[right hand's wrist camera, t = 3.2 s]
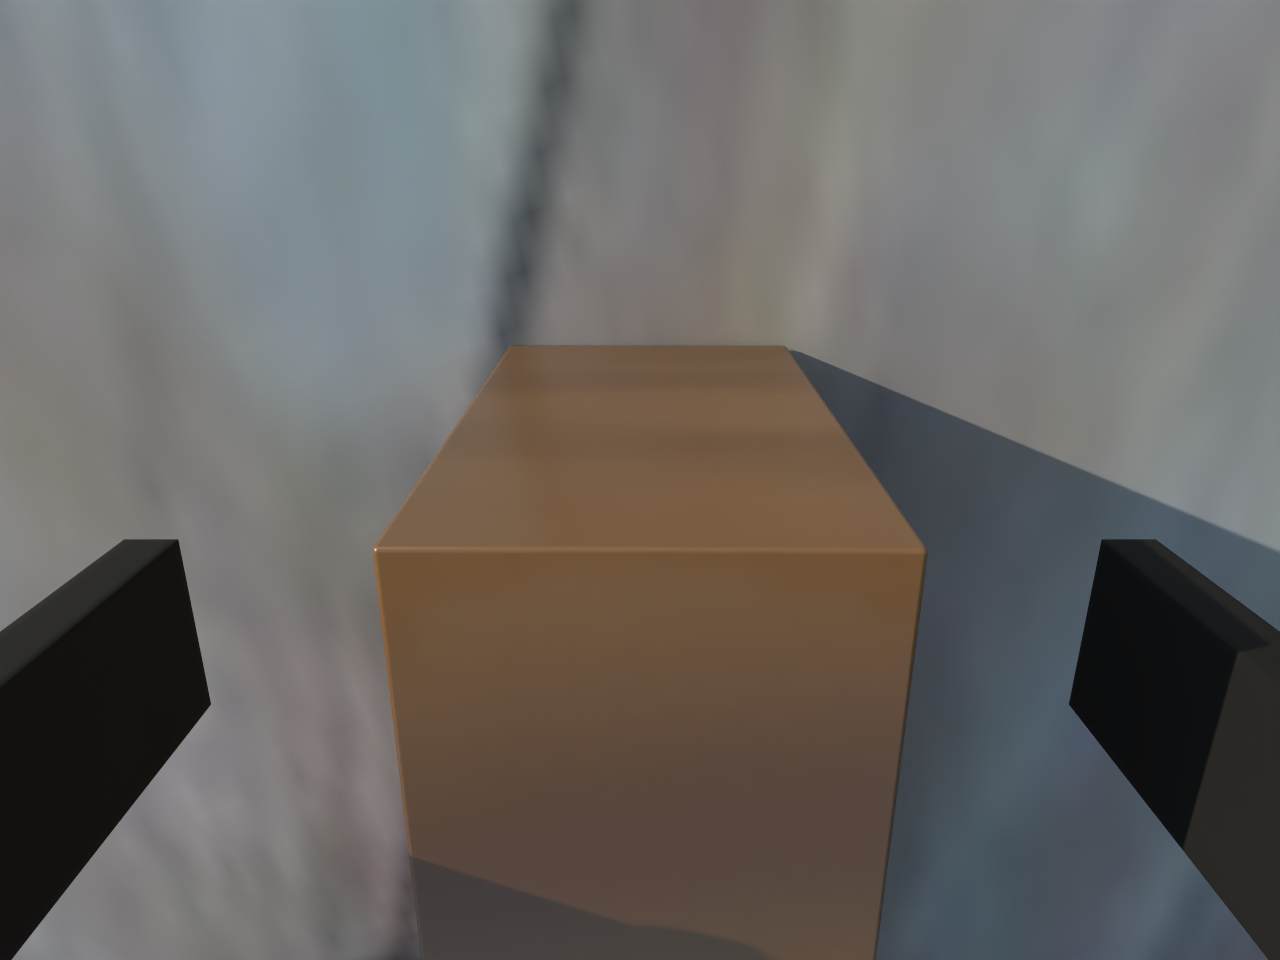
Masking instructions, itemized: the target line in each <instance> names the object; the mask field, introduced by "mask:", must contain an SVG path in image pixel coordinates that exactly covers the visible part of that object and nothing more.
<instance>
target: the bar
mask: <svg viewBox="0 0 1280 960" xmlns="http://www.w3.org/2000/svg"><path fill="white" fill-rule="evenodd" d="M373 555H374V564H375V572H376V581H377V589H378V597H379V606H380V614H381V623H382V631H383V639H384V648H385V656H386V665H387V673H388V681H389V690H390V698H391V707H392V715H393V723H394V732H395V740H396V749H397V757H398V765H399V774H400V782H401V791H402V799H403V807H404V816H405V824H406V833H407V841H408V849H409V858H410V866H411V874H412V883H413V891H414V900H415V908H416V916H417V925H418V933H419V942H420V950H421V958H422V960H876V952H877V944H878V936H879V929H880V921H881V913H882V905H883V897H884V890H885V882H886V874H887V866H888V858H889V851H890V843H891V835H892V827H893V819H894V812H895V804H896V796H897V788H898V780H899V773H900V765H901V757H902V749H903V742H904V734H905V726H906V718H907V710H908V703H909V695H910V687H911V679H912V671H913V664H914V656H915V648H916V640H917V632H918V625H919V617H920V609H921V601H922V593H923V586H924V578H925V570H926V562H927V555H928V551H927V548H926V546H925V545H924V544H923V542H922V541H921V539H920V538H919V536H918V535H917V534H916V532H915V531H914V529H913V528H912V526H911V525H910V524H909V522H908V521H907V519H906V518H905V516H904V515H903V514H902V512H901V511H900V509H899V508H898V506H897V505H896V504H895V502H894V501H893V499H892V498H891V496H890V495H889V493H888V492H887V491H886V489H885V488H884V486H883V485H882V483H881V482H880V481H879V479H878V478H877V476H876V475H875V473H874V472H873V471H872V469H871V468H870V466H869V465H868V463H867V462H866V461H865V459H864V458H863V456H862V455H861V453H860V452H859V451H858V449H857V448H856V446H855V445H854V443H853V442H852V441H851V439H850V438H849V436H848V435H847V433H846V432H845V430H844V429H843V428H842V426H841V425H840V423H839V422H838V420H837V419H836V418H835V416H834V415H833V413H832V412H831V410H830V409H829V408H828V406H827V405H826V403H825V402H824V400H823V399H822V398H821V396H820V395H819V393H818V392H817V390H816V389H815V388H814V386H813V385H812V383H811V382H810V380H809V379H808V378H807V376H806V375H805V373H804V372H803V370H802V369H801V368H800V366H799V365H798V363H797V362H796V360H795V359H794V357H793V356H792V355H791V353H790V352H789V350H788V349H787V347H785V346H510V347H509V349H508V350H507V352H506V353H505V355H504V356H503V358H502V359H501V360H500V362H499V363H498V365H497V366H496V368H495V369H494V371H493V372H492V374H491V375H490V377H489V378H488V380H487V381H486V383H485V384H484V386H483V387H482V388H481V390H480V391H479V393H478V394H477V396H476V397H475V399H474V400H473V402H472V403H471V405H470V406H469V408H468V409H467V411H466V412H465V414H464V415H463V416H462V418H461V419H460V421H459V422H458V424H457V425H456V427H455V428H454V430H453V431H452V433H451V434H450V436H449V437H448V439H447V440H446V441H445V443H444V444H443V446H442V447H441V449H440V450H439V452H438V453H437V455H436V456H435V458H434V459H433V461H432V462H431V464H430V465H429V467H428V468H427V469H426V471H425V472H424V474H423V475H422V477H421V478H420V480H419V481H418V483H417V484H416V486H415V487H414V489H413V490H412V492H411V493H410V495H409V496H408V497H407V499H406V500H405V502H404V503H403V505H402V506H401V508H400V509H399V511H398V512H397V514H396V515H395V517H394V518H393V520H392V521H391V523H390V524H389V525H388V527H387V528H386V530H385V531H384V533H383V534H382V536H381V537H380V539H379V540H378V542H377V543H376V545H375V546H374V549H373Z"/></svg>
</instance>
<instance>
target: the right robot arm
mask: <svg viewBox="0 0 1280 960" xmlns="http://www.w3.org/2000/svg"><path fill="white" fill-rule="evenodd" d="M210 705H211V702H210V697H209V692H208V687H207V682H206V677H205V672H204V667H203V662H202V657H201V652H200V647H199V642H198V637H197V632H196V627H195V622H194V617H193V612H192V606H191V601H190V596H189V591H188V586H187V581H186V576H185V571H184V566H183V561H182V556H181V551H180V546H179V541H178V540H123V541H122V542H120V543H119V544H118V545H116V546H115V547H114V548H112V549H111V550H110V551H108V552H107V553H106V554H104V555H103V556H102V557H100V558H99V559H97V560H96V561H95V562H93V563H92V564H91V565H89V566H88V567H87V568H85V569H84V570H83V571H81V572H80V573H79V574H77V575H76V576H75V577H73V578H72V579H71V580H69V581H68V582H67V583H65V584H64V585H63V586H61V587H60V588H59V589H57V590H56V591H54V592H53V593H52V594H50V595H49V596H48V597H46V598H45V599H44V600H42V601H41V602H40V603H38V604H37V605H36V606H34V607H33V608H32V609H30V610H29V611H28V612H26V613H25V614H24V615H22V616H21V617H20V618H18V619H17V620H15V621H14V622H13V623H11V624H10V625H9V626H7V627H6V628H5V629H3V630H2V631H1V632H0V960H12V958H13V957H14V956H15V954H16V953H17V952H18V951H19V949H20V948H21V947H22V945H23V944H24V943H25V942H26V940H27V939H28V938H29V936H30V935H31V934H32V933H33V931H34V930H35V929H36V928H37V926H38V925H39V924H40V922H41V921H42V920H43V919H44V917H45V916H46V915H47V913H48V912H49V911H50V910H51V908H52V907H53V906H54V905H55V903H56V902H57V901H58V899H59V898H60V897H61V896H62V894H63V893H64V892H65V890H66V889H67V888H68V887H69V885H70V884H71V883H72V881H73V880H74V879H75V878H76V876H77V875H78V874H79V873H80V871H81V870H82V869H83V867H84V866H85V865H86V864H87V862H88V861H89V860H90V858H91V857H92V856H93V855H94V853H95V852H96V851H97V850H98V848H99V847H100V846H101V844H102V843H103V842H104V841H105V839H106V838H107V837H108V835H109V834H110V833H111V832H112V830H113V829H114V828H115V827H116V825H117V824H118V823H119V821H120V820H121V819H122V818H123V816H124V815H125V814H126V812H127V811H128V810H129V809H130V807H131V806H132V805H133V803H134V802H135V801H136V800H137V798H138V797H139V796H140V795H141V793H142V792H143V791H144V789H145V788H146V787H147V786H148V784H149V783H150V782H151V780H152V779H153V778H154V777H155V775H156V774H157V773H158V772H159V770H160V769H161V768H162V766H163V765H164V764H165V763H166V761H167V760H168V759H169V757H170V756H171V755H172V754H173V752H174V751H175V750H176V749H177V747H178V746H179V745H180V743H181V742H182V741H183V740H184V738H185V737H186V736H187V734H188V733H189V732H190V731H191V729H192V728H193V727H194V725H195V724H196V723H197V722H198V720H199V719H200V718H201V717H202V715H203V714H204V713H205V711H206V710H207V709H208V708H209V706H210ZM1069 705H1070V706H1071V708H1072V709H1073V710H1074V711H1075V713H1076V714H1077V715H1078V717H1079V718H1080V719H1081V720H1082V722H1083V723H1084V724H1085V725H1086V727H1087V728H1088V729H1089V731H1090V732H1091V733H1092V734H1093V736H1094V737H1095V738H1096V740H1097V741H1098V742H1099V743H1100V745H1101V746H1102V747H1103V749H1104V750H1105V751H1106V752H1107V754H1108V755H1109V756H1110V757H1111V759H1112V760H1113V761H1114V763H1115V764H1116V765H1117V766H1118V768H1119V769H1120V770H1121V772H1122V773H1123V774H1124V775H1125V777H1126V778H1127V779H1128V780H1129V782H1130V783H1131V784H1132V786H1133V787H1134V788H1135V789H1136V791H1137V792H1138V793H1139V795H1140V796H1141V797H1142V798H1143V800H1144V801H1145V802H1146V803H1147V805H1148V806H1149V807H1150V809H1151V810H1152V811H1153V812H1154V814H1155V815H1156V816H1157V818H1158V819H1159V820H1160V821H1161V823H1162V824H1163V825H1164V827H1165V828H1166V829H1167V830H1168V832H1169V833H1170V834H1171V835H1172V837H1173V838H1174V839H1175V841H1176V842H1177V843H1178V844H1179V846H1180V847H1181V848H1182V850H1183V851H1184V852H1185V853H1186V855H1187V856H1188V857H1189V858H1190V860H1191V861H1192V862H1193V864H1194V865H1195V866H1196V867H1197V869H1198V870H1199V871H1200V873H1201V874H1202V875H1203V876H1204V878H1205V879H1206V880H1207V881H1208V883H1209V884H1210V885H1211V887H1212V888H1213V889H1214V890H1215V892H1216V893H1217V894H1218V896H1219V897H1220V898H1221V899H1222V901H1223V902H1224V903H1225V905H1226V906H1227V907H1228V908H1229V910H1230V911H1231V912H1232V913H1233V915H1234V916H1235V917H1236V919H1237V920H1238V921H1239V922H1240V924H1241V925H1242V926H1243V928H1244V929H1245V930H1246V931H1247V933H1248V934H1249V935H1250V936H1251V938H1252V939H1253V940H1254V942H1255V943H1256V944H1257V945H1258V947H1259V948H1260V949H1261V951H1262V952H1263V953H1264V954H1265V956H1266V957H1267V958H1268V960H1280V632H1279V631H1278V630H1277V629H1275V628H1274V627H1273V626H1271V625H1270V624H1269V623H1267V622H1266V621H1265V620H1263V619H1262V618H1260V617H1259V616H1258V615H1256V614H1255V613H1254V612H1252V611H1251V610H1250V609H1248V608H1247V607H1246V606H1244V605H1243V604H1242V603H1240V602H1239V601H1238V600H1236V599H1235V598H1234V597H1232V596H1231V595H1230V594H1228V593H1227V592H1226V591H1224V590H1223V589H1221V588H1220V587H1219V586H1217V585H1216V584H1215V583H1213V582H1212V581H1211V580H1209V579H1208V578H1207V577H1205V576H1204V575H1203V574H1201V573H1200V572H1199V571H1197V570H1196V569H1195V568H1193V567H1192V566H1191V565H1189V564H1188V563H1187V562H1185V561H1184V560H1183V559H1181V558H1180V557H1178V556H1177V555H1176V554H1174V553H1173V552H1172V551H1170V550H1169V549H1168V548H1166V547H1165V546H1164V545H1162V544H1161V543H1160V542H1158V541H1157V540H1102V541H1101V546H1100V551H1099V556H1098V561H1097V566H1096V571H1095V576H1094V581H1093V586H1092V591H1091V596H1090V601H1089V606H1088V612H1087V617H1086V622H1085V627H1084V632H1083V637H1082V642H1081V647H1080V652H1079V657H1078V662H1077V667H1076V672H1075V677H1074V682H1073V687H1072V692H1071V697H1070V702H1069Z"/></svg>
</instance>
